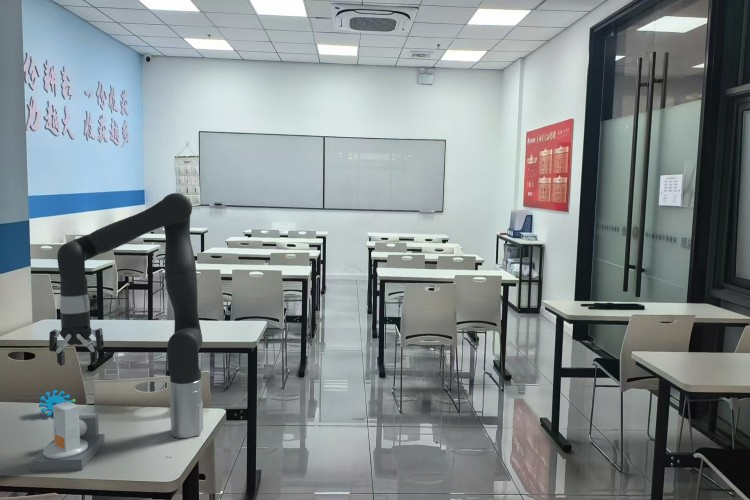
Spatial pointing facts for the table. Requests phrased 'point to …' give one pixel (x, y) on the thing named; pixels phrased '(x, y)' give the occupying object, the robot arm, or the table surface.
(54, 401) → the gear
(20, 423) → the table surface
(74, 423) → the skincare box
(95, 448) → the dial scale
